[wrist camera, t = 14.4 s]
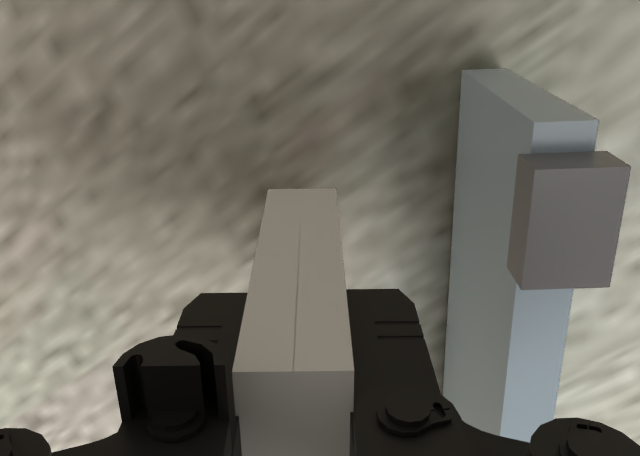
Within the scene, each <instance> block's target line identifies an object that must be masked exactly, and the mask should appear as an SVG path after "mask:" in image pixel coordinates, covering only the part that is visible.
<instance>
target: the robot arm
mask: <svg viewBox="0 0 640 456" xmlns="http://www.w3.org/2000/svg"><path fill="white" fill-rule="evenodd" d="M113 372H114V378H115V384H116V390H117V396H118V401H119V407H120V413H121V419H122V423H121V426H120V428H119V431H118V432H117V433H115V434H113V435H111V436H109V437H107V438H105V439H102V440H99V441H95V442H92V443H89V444H85V445H81V446H77V447H73V448H69V449H65V450H61V451H57V452H53V453H51V449H50V445H49V444H48V443H47V441H46V440H45V439H44V437H43V436H42V435H41V434H39V433H36V432H34V431H31V430H28V429H26V428H4V429H0V456H640V446H639V445H638V444H637V443H635V442H634V441H633V440H631V439H630V438H629V437H627V436H626V435H625V434H623V433H622V432H620V431H618V430H616V429H613V428H611V427H609V426H607V425H604V424H602V423H600V422H595V421H590V420H586V419H581V418H559V419H554V420H552V421H549V422H547V423H544V424H542V425H540V426H539V427H538V428H537V430H536V431H535V432H534V433H533V435H532V436H531V440H530V443H529V442H525V441H520V440H516V439H511V438H507V437H502V436H498V435H494V434H491V433H488V432H484V431H481V430H479V429H477V428H475V427H473V426H471V425H469V424H467V423H465V422H464V421H463V420H462V419H461V416H460V415H459V413H458V411H457V410H456V408H455V407H454V405H453V403H451V402H450V401H449V400H447V399H446V398H445V397H443V396H442V395H441V393H440V390H439V386H438V383H437V380H436V376H435V373H434V369H433V366H432V363H431V359H430V356H429V352H428V349H427V346H426V342H425V339H424V335H423V332H422V329H421V325H420V324H419V318H418V315H417V312H416V308H415V305H414V303H413V302H412V301H411V300H410V299H409V298H407V297H406V296H405V295H404V294H403V293H402V292H401V291H400V290H399V289H348V290H346V283H345V273H344V263H343V253H342V243H341V233H340V223H339V213H338V203H337V193H336V188H328V189H268V192H267V197H266V202H265V208H264V213H263V218H262V223H261V228H260V233H259V238H258V243H257V248H256V253H255V258H254V263H253V268H252V273H251V278H250V283H249V288H248V293H201V294H200V295H198V296H197V297H196V298H195V299H194V300H193V301H192V302H191V303H189V304H188V305H187V306H186V307H185V308H184V309H183V312H182V314H181V317H180V320H179V322H178V325H177V330H175V333H174V335H172V336H164V337H158V338H155V339H152V340H149V341H146V342H143V343H140V344H138V345H136V346H135V347H133V348H132V349H130V350H128V351H127V352H125V353H124V354H122V356H121V357H120V358H119V359H118V361H117V362H116V363H115V364H114V365H113Z"/></svg>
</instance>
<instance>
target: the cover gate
mask: <svg viewBox="0 0 640 456" xmlns="http://www.w3.org/2000/svg"><path fill="white" fill-rule="evenodd" d="M598 123H599V120H598V119H596V118H594V117H592V116H591V115H589V114H587V113H585V112H583V111H582V110H580V109H578V108H576V107H574V106H573V105H571V104H569V103H567V102H565V101H564V100H562V99H560V98H558V97H556V96H555V95H553V94H551V93H549V92H547V91H546V90H544V89H542V88H540V87H538V86H537V85H535V84H533V83H531V82H529V81H528V80H526V79H524V78H522V77H520V76H519V75H517V74H515V73H513V72H511V71H510V70H508V69H506V68H498V69H469V70H462V77H461V94H460V110H459V127H458V144H457V161H456V178H455V195H454V212H453V229H452V245H451V262H450V279H449V296H448V313H447V330H446V347H445V364H444V381H443V397H445V398H446V399H447V400H449V401H450V402H451V403H453V405H454V407H455V408H456V410H457V411H458V413H459V415H460V416H461V419H462V420H463V421H464V422H465V423H467V424H469V425H471V426H473V427H475V428H477V429H479V430H481V431H484V432H488V433H491V434H494V435H498V436H502V437H507V438H511V439H516V440H520V441H525V442H529V443H530V440H531V436H532V435H533V433H534V432H535V431H536V430H537V428H538V427H539V426H540V425H542V424H544V423H547V422H549V421H552V420H554V414H555V407H556V400H557V394H558V387H559V381H560V374H561V367H562V361H563V354H564V348H565V341H566V334H567V328H568V321H569V315H570V308H571V301H572V295H573V288H603V287H610V282H611V277H612V271H613V265H614V260H615V254H616V249H617V243H618V237H619V232H620V226H621V220H622V215H623V209H624V204H625V198H626V192H627V187H628V181H629V176H630V170H631V166H629V165H628V164H626V163H625V162H623V161H622V160H620V159H618V158H617V157H615V156H614V155H612V154H611V153H609V152H608V151H594V150H595V143H596V136H597V130H598Z"/></svg>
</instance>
